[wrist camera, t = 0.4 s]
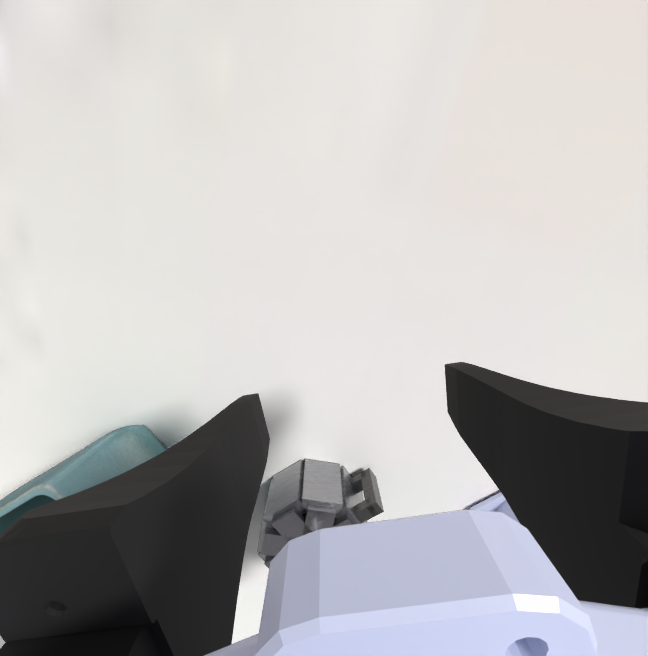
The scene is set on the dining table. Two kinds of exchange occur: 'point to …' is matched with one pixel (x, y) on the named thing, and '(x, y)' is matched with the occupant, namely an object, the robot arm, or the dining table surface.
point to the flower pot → (83, 471)
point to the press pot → (314, 503)
